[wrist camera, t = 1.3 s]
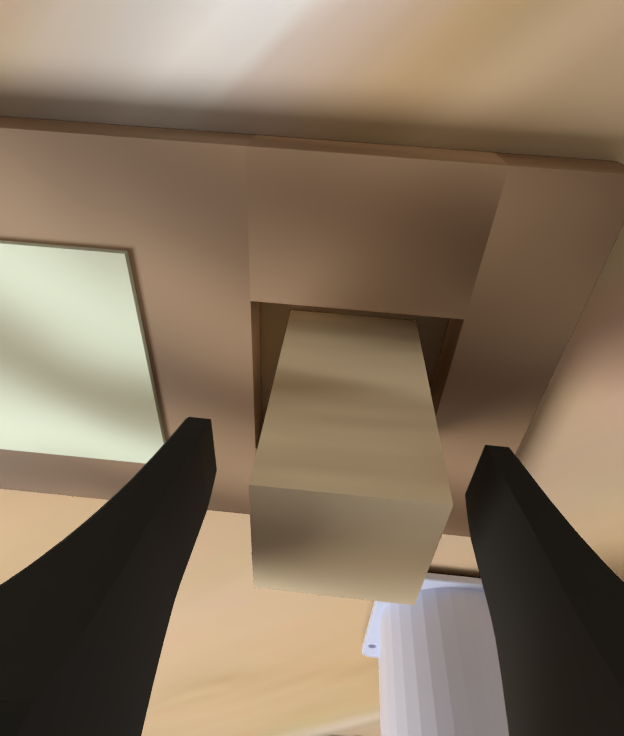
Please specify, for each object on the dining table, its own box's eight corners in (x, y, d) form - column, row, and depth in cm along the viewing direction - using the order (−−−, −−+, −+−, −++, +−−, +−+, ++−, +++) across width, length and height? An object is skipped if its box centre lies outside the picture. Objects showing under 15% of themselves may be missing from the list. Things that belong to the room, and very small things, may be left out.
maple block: (395, 413, 17) (414, 605, 11) (288, 403, 17) (253, 587, 11) (415, 320, 14) (453, 505, 9) (291, 309, 14) (248, 484, 9)
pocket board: (469, 508, 20) (477, 541, 18) (-24, 459, 20) (-50, 487, 19) (616, 161, 11) (651, 177, 10) (-232, 99, 12) (-303, 107, 11)
